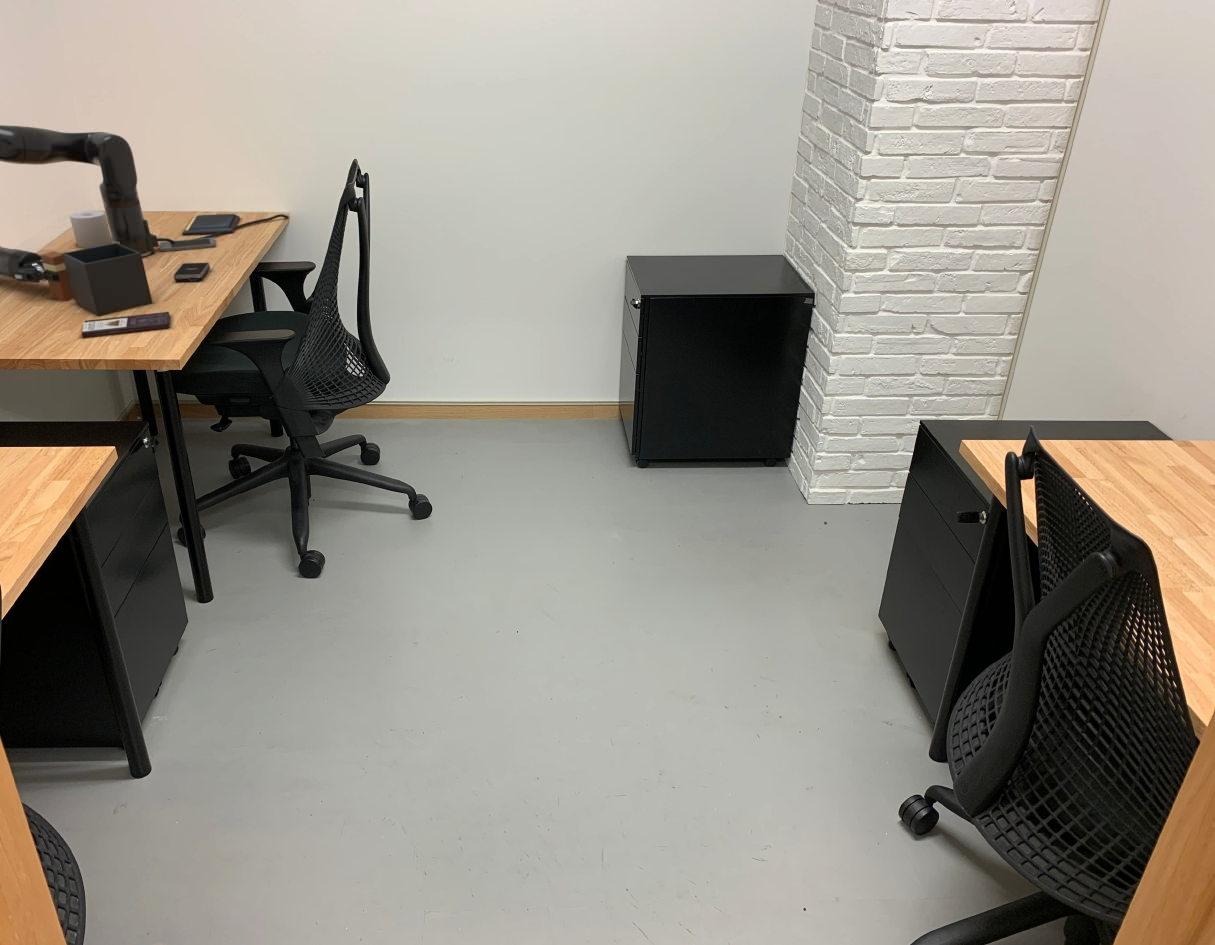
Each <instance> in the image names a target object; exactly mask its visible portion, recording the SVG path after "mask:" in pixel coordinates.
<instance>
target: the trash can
mask: <svg viewBox="0 0 1215 945" xmlns="http://www.w3.org/2000/svg"><path fill="white" fill-rule="evenodd" d="M61 253H62V256H63V260H64V264H65V267H66V271H67V274H68V278H69V281H70V285H71V288H72V292H73V295H74V298H73V299H74V303H75V304H76V305H78V306H79V307H81V308H83V309H85V310H87V311H88V312H90V313H92V314H94V315H95V316H98V317H101V316H104V315H107V314H108V315H109V314H112V313H117V312H121V311H125V310H130V309H134V308H138V307H142V306H146V305H151V304H154V303H153V298H152V294H151V290H150V286H149V282H148V277H147V273H146V270H145V264H144V261H143V257H142V256H141V253H140V252H137V251H135V250H133V249H130V248H128V247H126V246H123V245H121V244H119V243H113V244H112V243H111V244H108V245H102V246H97V247H92V248H83V249H76V250H71V251H67V252H61Z"/></svg>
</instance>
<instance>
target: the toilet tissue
mask: <svg viewBox="0 0 1215 945" xmlns="http://www.w3.org/2000/svg"><path fill="white" fill-rule="evenodd" d="M69 219H70V223H71V227H72V231H73V234H74V238H75V242H76V245H77V247H78V248H83V249H87V248H92V247H97V246H102V245H108V244H112V241H113V240H112V236H111V232H110V228H109V224H108V220H107V216H106V212H104V211H103V210H84V211H79V212H74V213H71V214H69Z"/></svg>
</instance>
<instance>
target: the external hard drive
mask: <svg viewBox="0 0 1215 945" xmlns="http://www.w3.org/2000/svg"><path fill="white" fill-rule="evenodd" d="M210 269H211V266H210V263H209V262H183V263H182V264H181V265H180V266H179V267H178V268H177V270H176V271H175V272H174V274H173V279H174V281H175V282H176V283H177V282H182V283H183V282H200V281H202V280H203V279H204V277H206V275H207V274H208V272H209V270H210Z"/></svg>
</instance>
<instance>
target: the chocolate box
mask: <svg viewBox="0 0 1215 945" xmlns="http://www.w3.org/2000/svg"><path fill="white" fill-rule="evenodd" d="M62 253H63V252H58V251H49V252H46V253H42V254H39V255H40V256H41V259H42V263H43V267H44V269H45V271H52V272H56V273H58V276H59V279H60V281H58V282H54V281H50V280H47V282H48V286H49V290H50V293H51V296H52V299H55V300H59V301H65V302H66V301H69V300H72V299H74V295H73V292H72V288H71V285H70V281H69V278H68V274H67V271H66V267H65V264H64V260H63V256H62Z"/></svg>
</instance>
